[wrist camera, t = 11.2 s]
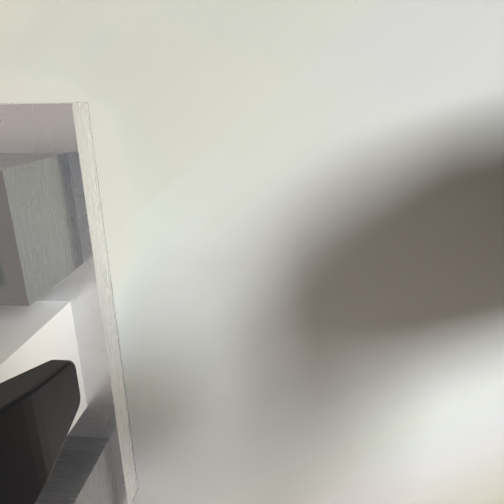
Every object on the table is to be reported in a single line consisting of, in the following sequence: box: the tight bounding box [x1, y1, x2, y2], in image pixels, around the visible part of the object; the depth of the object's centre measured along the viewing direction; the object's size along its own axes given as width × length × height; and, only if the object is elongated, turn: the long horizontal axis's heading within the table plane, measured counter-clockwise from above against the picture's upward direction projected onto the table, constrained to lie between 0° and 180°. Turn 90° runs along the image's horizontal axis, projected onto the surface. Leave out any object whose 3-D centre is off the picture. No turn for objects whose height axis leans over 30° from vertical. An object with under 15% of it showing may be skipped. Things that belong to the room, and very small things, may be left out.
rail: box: [0, 102, 138, 504], centre depth 21 cm, size 7×22×6 cm, turn 1°
